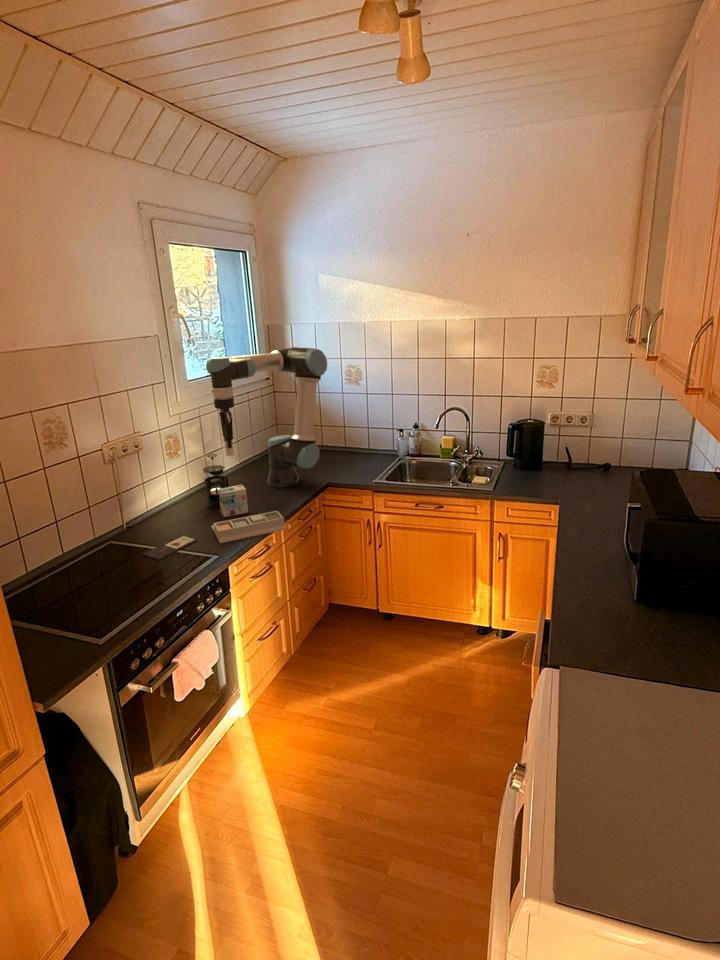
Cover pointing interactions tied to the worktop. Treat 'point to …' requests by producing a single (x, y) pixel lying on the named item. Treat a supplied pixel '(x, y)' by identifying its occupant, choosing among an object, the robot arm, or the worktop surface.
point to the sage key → (256, 519)
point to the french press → (214, 483)
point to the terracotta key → (224, 527)
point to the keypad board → (248, 527)
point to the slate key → (240, 523)
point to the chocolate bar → (169, 548)
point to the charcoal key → (272, 517)
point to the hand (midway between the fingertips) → (230, 455)
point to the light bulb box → (233, 500)
